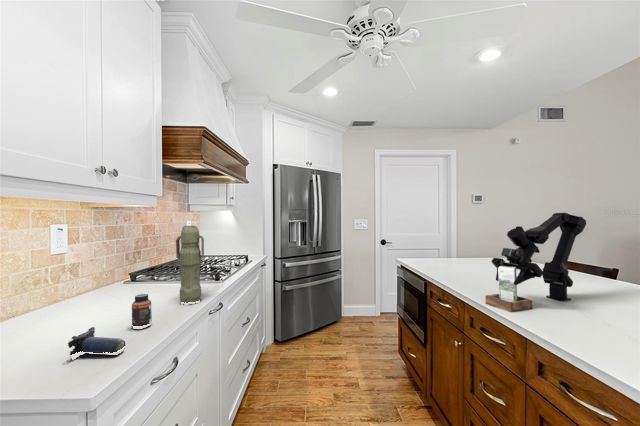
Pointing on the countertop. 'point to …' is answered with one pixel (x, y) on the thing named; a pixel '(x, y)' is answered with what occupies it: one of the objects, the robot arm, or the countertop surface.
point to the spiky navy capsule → (95, 343)
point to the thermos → (190, 263)
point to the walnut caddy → (509, 303)
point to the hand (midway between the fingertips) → (505, 282)
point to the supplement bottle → (141, 310)
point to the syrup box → (507, 283)
